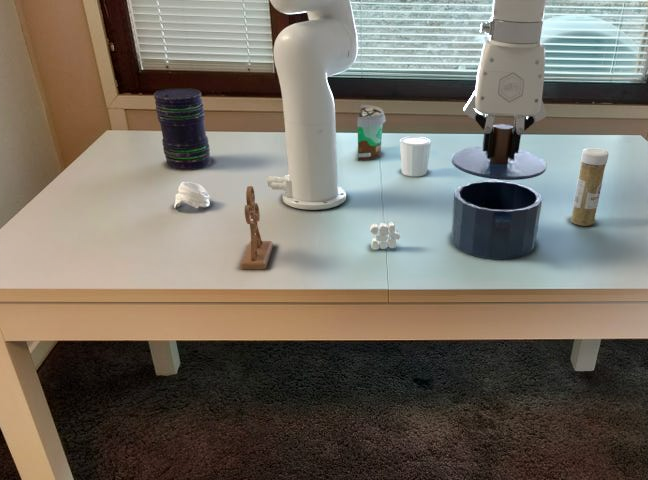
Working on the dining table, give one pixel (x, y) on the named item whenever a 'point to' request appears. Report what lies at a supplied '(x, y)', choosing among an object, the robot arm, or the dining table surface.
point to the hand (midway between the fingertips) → (499, 155)
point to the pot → (495, 219)
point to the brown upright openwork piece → (255, 237)
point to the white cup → (414, 155)
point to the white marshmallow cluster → (384, 236)
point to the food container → (370, 132)
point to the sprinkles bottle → (589, 186)
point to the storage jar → (183, 128)
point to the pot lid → (499, 159)
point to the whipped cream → (192, 195)
